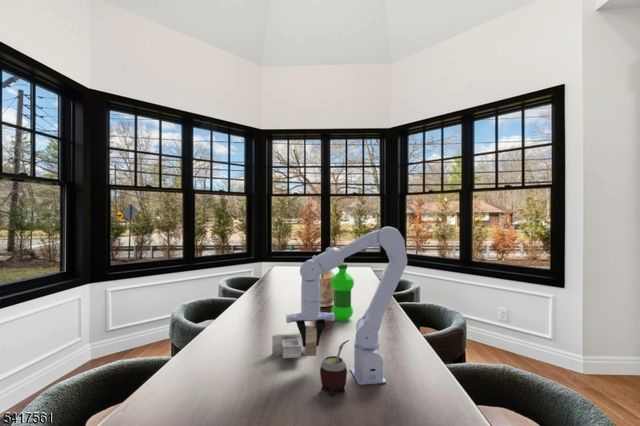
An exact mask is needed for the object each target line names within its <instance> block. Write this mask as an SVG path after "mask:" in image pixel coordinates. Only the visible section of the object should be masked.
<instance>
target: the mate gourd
mask: <svg viewBox="0 0 640 426" xmlns="http://www.w3.org/2000/svg"><path fill="white" fill-rule="evenodd" d="M348 342H350V339H348V340H345V341H343V342H342V343H341V344H340V345H339V347H338V352H337V355H329V356H326V357H324V358H323V360H322V361H321V363H320V369H319V375H320V382H321V390H322V391H328V392H330V397H331V398H333V397H334V396H335V392H336V393H338V392H339V393H345V392H346V388H345V387H346V384H347V383H346V382H347V374H348V373H347V371H348V369H347V364H346V362H345V360H344V359H343V358H342V357H340V355H341V352H342V350H343V347H344V345H345V344H347V343H348Z"/></svg>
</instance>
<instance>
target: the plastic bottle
mask: <svg viewBox="0 0 640 426" xmlns="http://www.w3.org/2000/svg"><path fill="white" fill-rule="evenodd" d="M337 269H338V272H337V273H336V274H334V276H333V277H332V278H331V280H330V287H331V289H333V304H332V305H333V306H332V307H331V311H330V313H334V314H335V320H336V321H338V322H347V321H348V320H349V319H350V318H352V316H353V313H354V309H353V306H352V289H353V288H354V285H355V281H354V278H353V276H351V275H350V274H349V273H348V272H347V269H348V263H343V264H342V265H340V266H338V267H337Z"/></svg>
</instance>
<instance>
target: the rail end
mask: <svg viewBox="0 0 640 426" xmlns="http://www.w3.org/2000/svg"><path fill="white" fill-rule="evenodd" d="M305 326H306V331H305V340H306V347H304V352H305V353H304V355H305V357H317V347H318V346H317V328H316V326H315V324H309V325H308V324H307V325H306V324H305Z"/></svg>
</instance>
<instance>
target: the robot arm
mask: <svg viewBox="0 0 640 426" xmlns="http://www.w3.org/2000/svg"><path fill="white" fill-rule="evenodd" d="M379 245H380V246H381V247H382V248H383V250H384V251H385V253H386V256H387V258H388V260H389V261H388V264H387V266H386V268H385V270H384V272H383V274H382V277H381V279H380V281H379V283H378V286H377V287H376V290H375V292H374V295H373V297H372V299H371V301H370V303H369V306H368V308H367V309H366V311H365V312H364V314H363V316H362V317H360V318H359V319H358V320H357V322H356V325H355V329H356V332H355V339H354V342H353V343H354V345H353V346H354V347H353V349H354V350H353V351H354V352H353V357H354V358H353V362H354V363H353V364H354V365H353V366H352V367H350V368H349V369H350V372H351V373H352V375H353V377H354V379H355V381H356V382H357V384H358V385H359V386H362V385H363V386H365V385H375V384H386V383H387V380H386V379H385V377H384V376H383V375H384V374H383V373H384V370H383V369H384V368H383V367H384V366H383V365H384V361H383V358H382V357H383V356H381V354H380V341H379V330H380V328H381V325H382V321H383V317H384V315H385V313H386V311H387V308H388V307H389V305H390V302H391V300H392V297H393V296H394V293H395V291H396V289H397V287H398V284H399V282H400V280H401V278H402V276H403V274H404V271H405V269H406V267H407V265H408V256H407V250H406V244H405V238H404V237H403V236H402V234H401V232H400V231H399V230H398V229H397V228H395V227H392V226H384V227H381V228H380V229H375V230H373V231H370V232H367V233H365V234H364V235H362V236H360V237H358V238H357V239H355V240H353V241H351V242H349V243H348V244H346V245H344V246H342V247H341V248H338V247H335V246H334V247H330V246H328V247H326V249H325V251H323V252H322V253H319V254H318V255H315V254H314V255H313V256H312V257H311V259H307V260H305V261H304V262H303V263H302V264H301V266H300V269H299V274H300V276H301V285H300V286H301V288H300V289H301V290H300V291H301V292H300V297H301V298H300V304H301V305H300V306H301V307H300V308H301V309H300V312H299V313H298V312H297V313H292V314H291V313H290V314H286V315H285V316H286V317H285V320H286V321H285V322H286V324H290V323H295V324H296V326H297V328H298V331H299V333H300V334H301V337H302V343H303V347H306V340H305V331H306V326H305V325H306V322H314V325H315V326H316V328H317V347H319V344H320V343H319V342H320V339H321V336H322V334H323V331H324V329H325V327H326V321H331V322H333V321H334V322H335V320H336V318H335V314H334V313H331V312H323V311H321V284H320V275H321V274H326V273H328V272H330V271H332V270H334V269H337V268H338V266H340V265H342V264H344V261H345V258H347V257H349V256H352V255H354V254H356V253H357V252H360V251H362V250H364V249H367V248H379Z"/></svg>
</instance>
